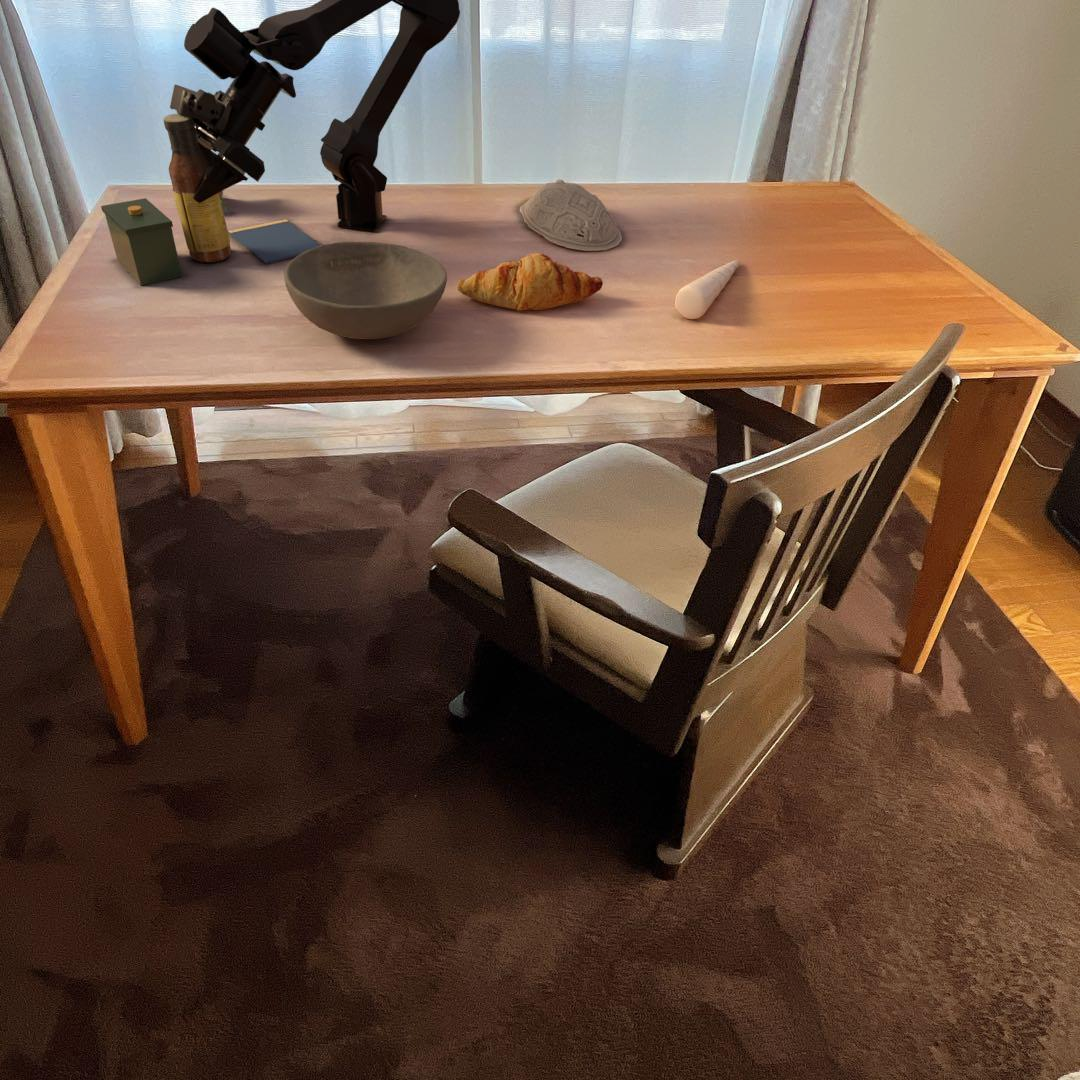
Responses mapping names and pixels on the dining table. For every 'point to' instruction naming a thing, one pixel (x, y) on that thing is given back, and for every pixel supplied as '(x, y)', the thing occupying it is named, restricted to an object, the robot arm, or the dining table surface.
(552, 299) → the croissant
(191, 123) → the sauce bottle
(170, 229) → the tin box
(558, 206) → the grey domed shell
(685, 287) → the unicorn horn
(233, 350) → the dining table surface
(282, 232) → the blue book
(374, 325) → the bowl
